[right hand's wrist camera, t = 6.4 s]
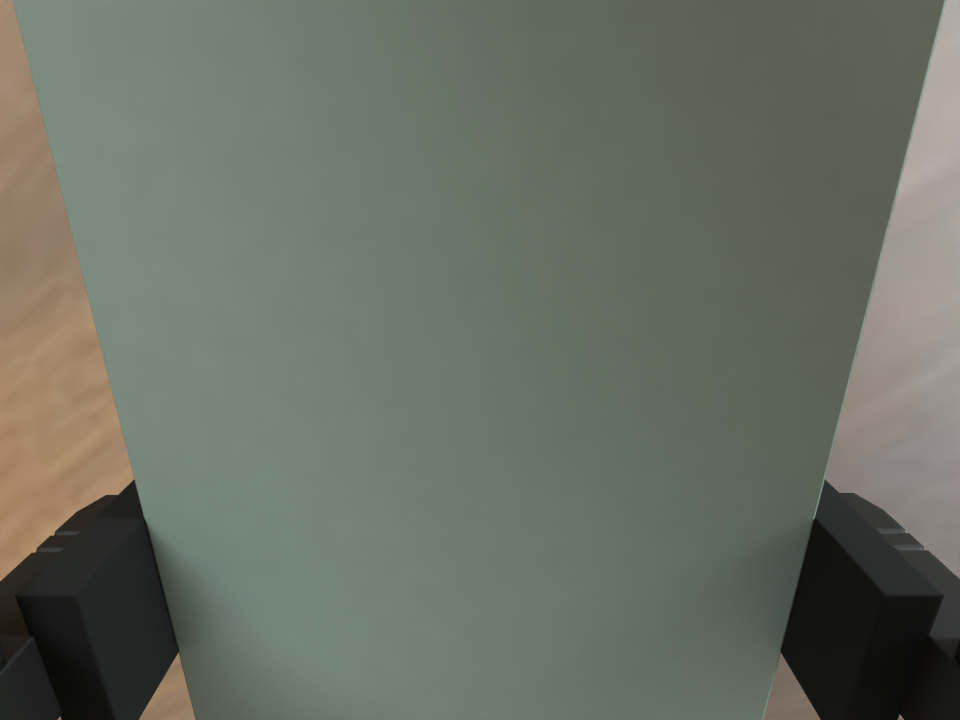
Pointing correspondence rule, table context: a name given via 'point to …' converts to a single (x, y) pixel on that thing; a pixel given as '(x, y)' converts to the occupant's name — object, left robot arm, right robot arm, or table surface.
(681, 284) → the sage green box
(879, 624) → the right robot arm
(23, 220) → the table surface
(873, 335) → the table surface
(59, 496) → the table surface
